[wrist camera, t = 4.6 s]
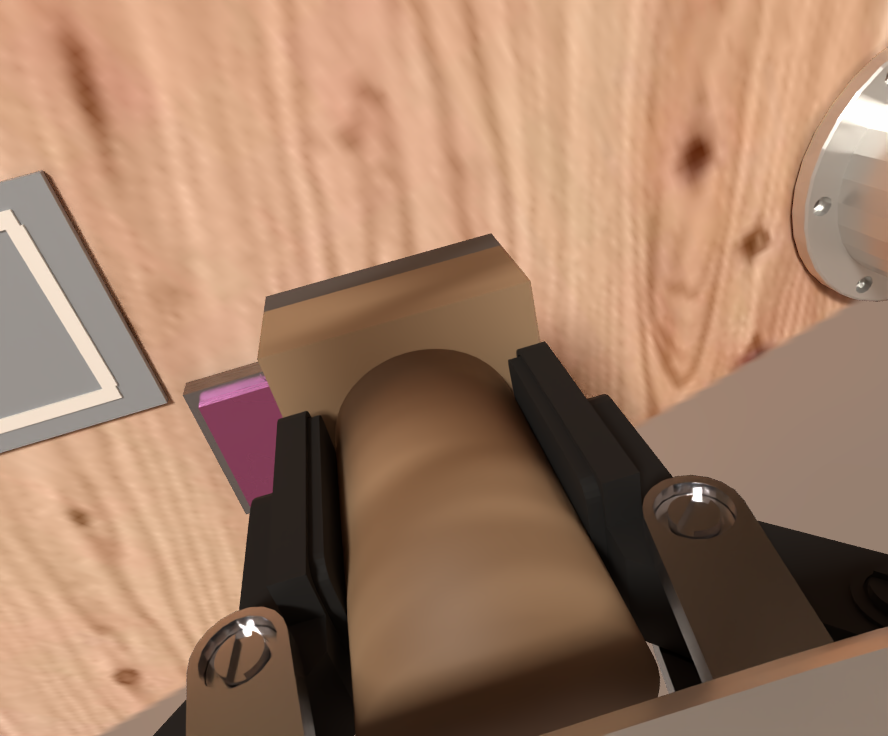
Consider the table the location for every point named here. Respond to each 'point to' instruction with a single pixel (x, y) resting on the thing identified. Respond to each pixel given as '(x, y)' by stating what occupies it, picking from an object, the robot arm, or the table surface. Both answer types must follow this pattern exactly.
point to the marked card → (59, 327)
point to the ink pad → (239, 427)
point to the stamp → (451, 504)
